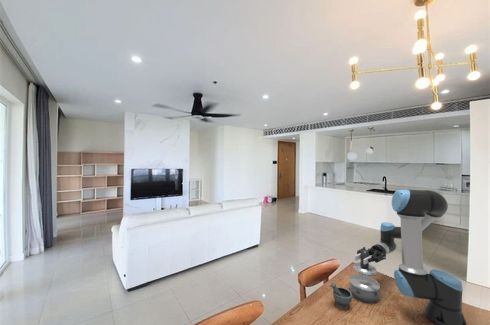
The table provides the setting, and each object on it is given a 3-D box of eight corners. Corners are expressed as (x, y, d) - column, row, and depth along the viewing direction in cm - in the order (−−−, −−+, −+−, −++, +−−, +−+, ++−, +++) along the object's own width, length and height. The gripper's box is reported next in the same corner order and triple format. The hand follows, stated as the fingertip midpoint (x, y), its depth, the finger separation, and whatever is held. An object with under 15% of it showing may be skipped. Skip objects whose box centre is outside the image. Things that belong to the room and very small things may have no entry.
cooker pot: (384, 306, 114) (384, 291, 114) (353, 301, 118) (353, 287, 118) (373, 288, 130) (374, 275, 129) (346, 284, 133) (346, 272, 133)
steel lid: (379, 277, 117) (379, 257, 117) (356, 274, 120) (356, 254, 120) (372, 266, 129) (372, 247, 128) (351, 263, 132) (351, 245, 131)
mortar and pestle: (347, 299, 120) (347, 278, 120) (355, 311, 111) (355, 289, 110) (327, 298, 121) (327, 278, 120) (333, 310, 111) (333, 288, 111)
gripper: (395, 261, 126) (375, 273, 114) (365, 250, 141) (345, 260, 129) (395, 249, 126) (375, 259, 114) (365, 239, 141) (345, 248, 129)
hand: (359, 259), depth 121 cm, fingers closed on steel lid, 4 cm apart
